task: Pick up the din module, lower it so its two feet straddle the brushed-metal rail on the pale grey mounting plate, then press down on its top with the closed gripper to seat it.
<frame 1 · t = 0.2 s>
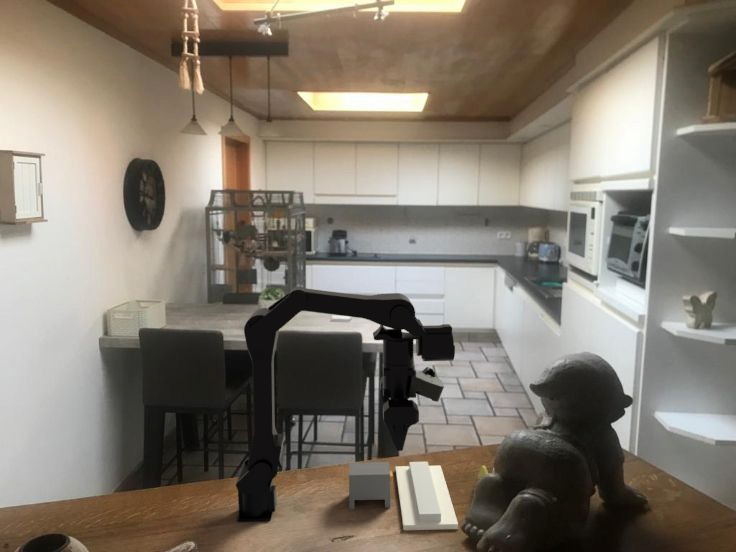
hand: (397, 439, 108), 14 cm above the table, tool pointing down, fingers open, 9 cm apart
din module: (369, 501, 113), on the table
plastic component: (531, 494, 115), on the table
rail plate: (423, 497, 114), on the table
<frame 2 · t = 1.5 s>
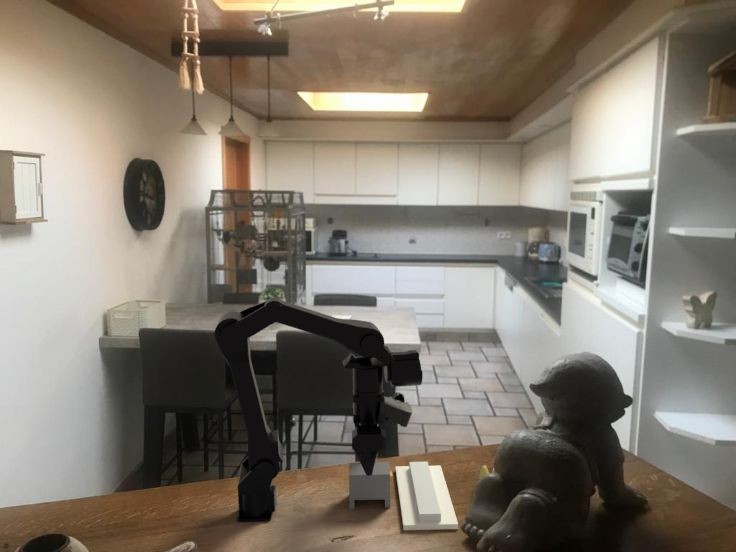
hand: (368, 463, 111), 8 cm above the table, tool pointing down, fingers open, 9 cm apart
nothing on the table moved.
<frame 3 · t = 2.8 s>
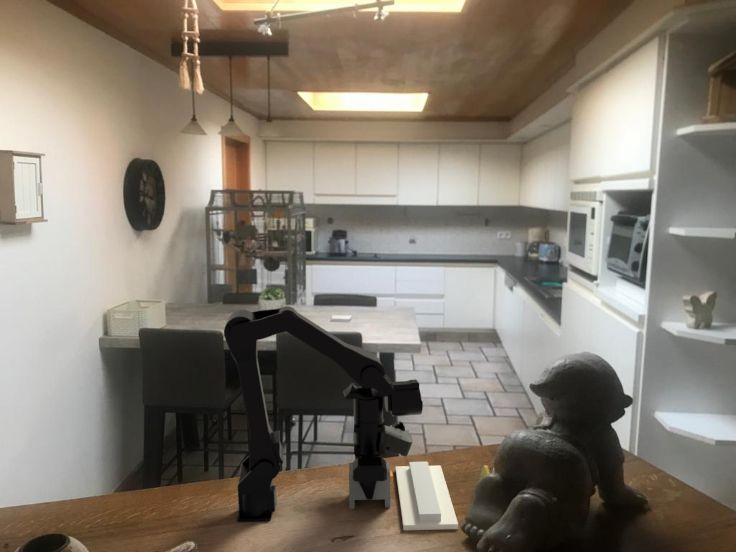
hand: (369, 491, 112), 2 cm above the table, tool pointing down, fingers closed on din module, 5 cm apart
din module: (369, 501, 113), on the table, touching gripper
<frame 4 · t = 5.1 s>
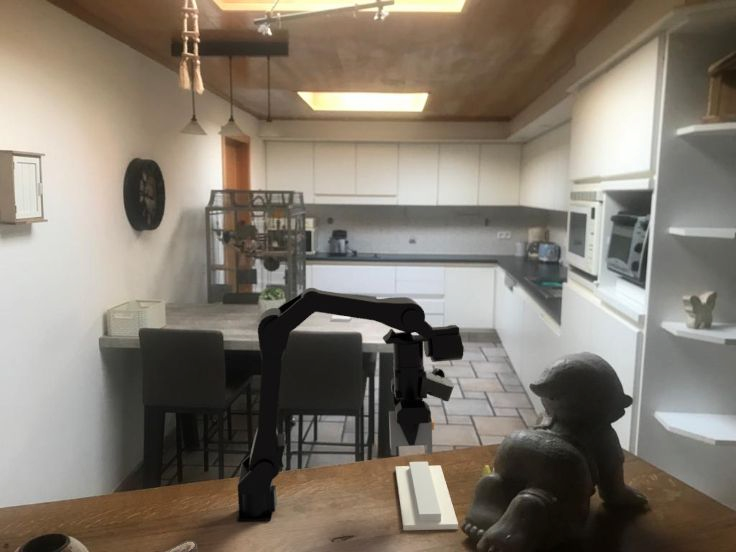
hand: (410, 439, 112), 13 cm above the table, tool pointing down, fingers closed on din module, 5 cm apart
din module: (410, 448, 112), point 11 cm above the table, touching gripper
when the fingers open (4 cm above the table, at t = 7.7 s): din module stays where it is, resting on rail plate.
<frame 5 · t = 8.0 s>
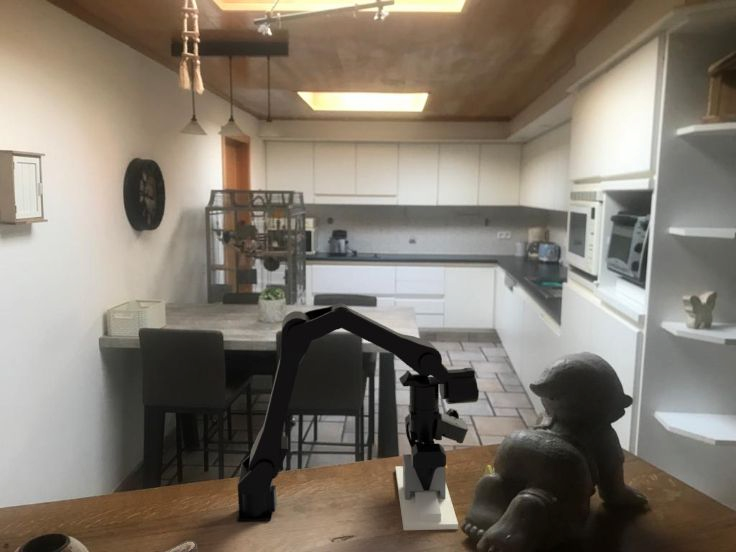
hand: (423, 478, 113), 4 cm above the table, tool pointing down, fingers open, 8 cm apart
din module: (423, 492, 114), point 1 cm above the table, touching rail plate
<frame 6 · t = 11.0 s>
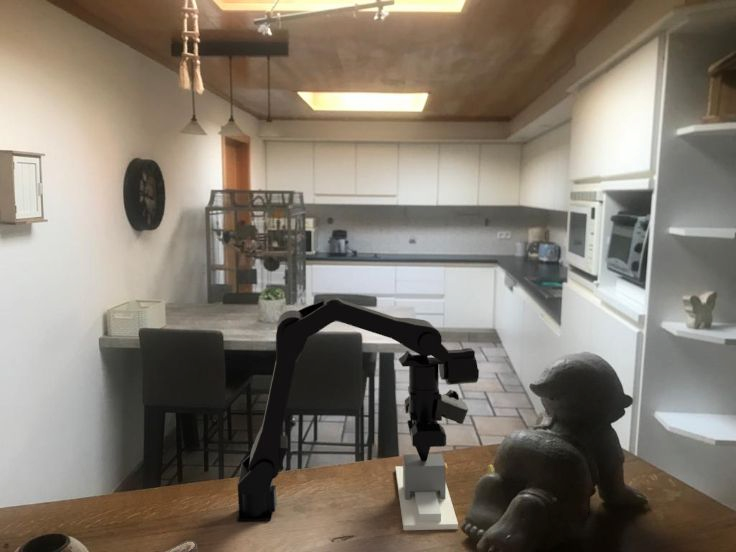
hand: (423, 460, 113), 8 cm above the table, tool pointing down, fingers closed, pressing on din module
din module: (423, 492, 114), point 1 cm above the table, touching gripper, rail plate
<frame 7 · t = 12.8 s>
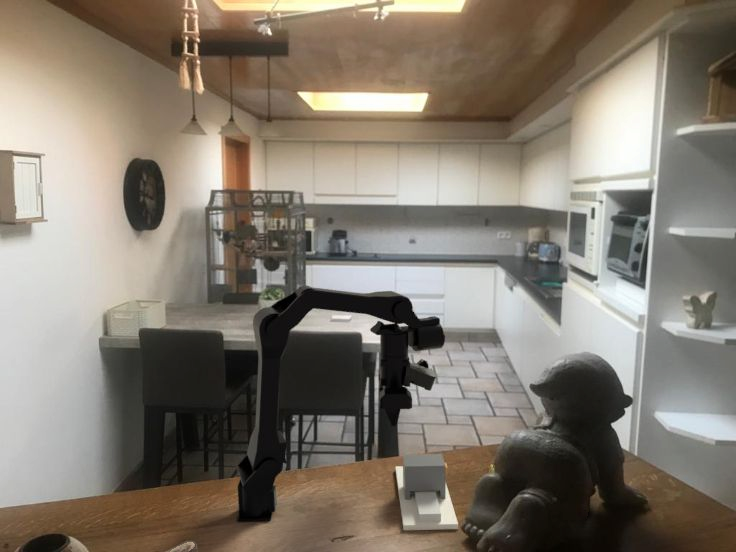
hand: (393, 425, 118), 13 cm above the table, tool pointing down, fingers closed
din module: (423, 492, 114), point 1 cm above the table, touching rail plate
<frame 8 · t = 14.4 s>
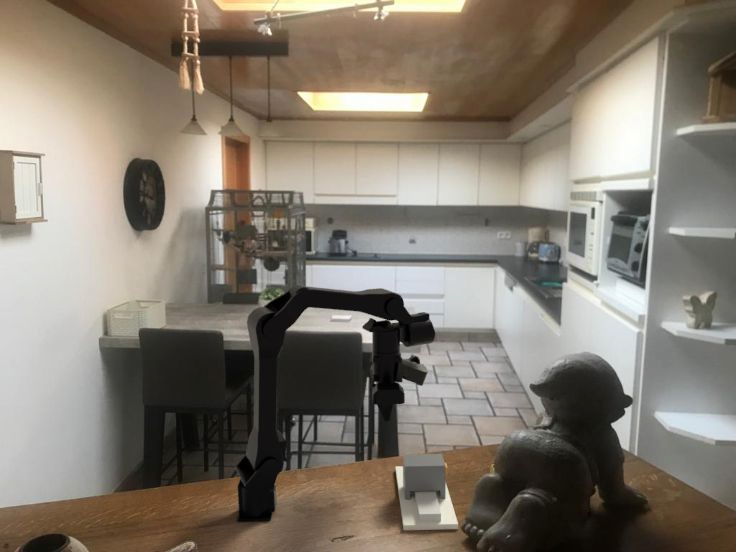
hand: (386, 420, 120), 13 cm above the table, tool pointing down, fingers closed
at the end: din module 0.0 cm off-centre on the rail plate, point 1.0 cm above the rail plate's base; din module tilted 0°; the gripper is holding nothing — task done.
